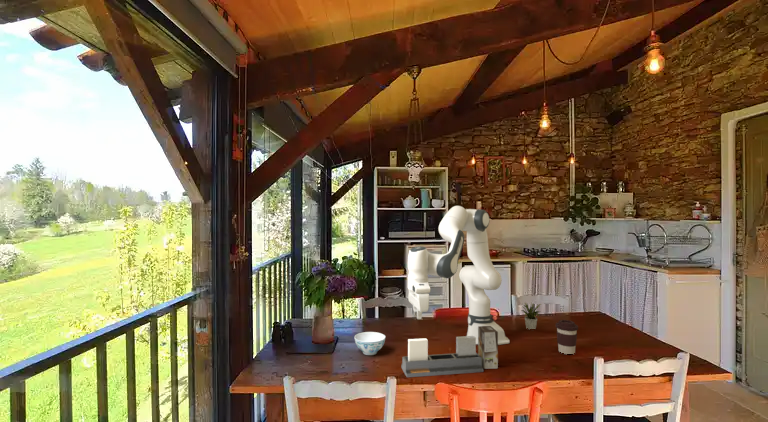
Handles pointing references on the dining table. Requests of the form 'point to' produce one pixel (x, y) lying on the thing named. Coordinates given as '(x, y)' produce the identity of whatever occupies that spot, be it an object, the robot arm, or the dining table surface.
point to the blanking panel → (417, 349)
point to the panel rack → (447, 361)
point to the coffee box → (488, 346)
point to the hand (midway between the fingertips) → (417, 317)
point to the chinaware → (369, 342)
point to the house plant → (531, 316)
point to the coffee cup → (566, 336)
